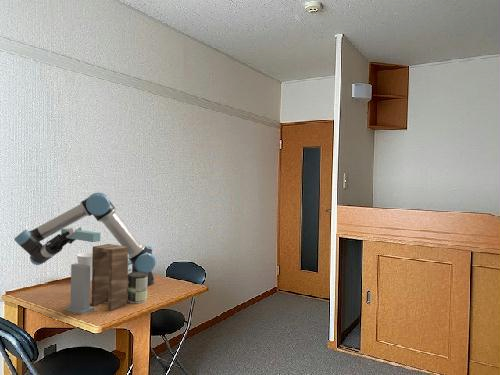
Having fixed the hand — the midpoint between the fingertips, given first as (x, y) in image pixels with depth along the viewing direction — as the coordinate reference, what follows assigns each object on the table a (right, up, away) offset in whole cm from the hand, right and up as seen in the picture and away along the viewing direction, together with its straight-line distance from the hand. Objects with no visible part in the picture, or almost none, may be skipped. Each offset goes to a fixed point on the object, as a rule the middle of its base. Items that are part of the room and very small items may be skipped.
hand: (78, 229), depth 184 cm
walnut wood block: (+13, -39, +5) cm, 42 cm away
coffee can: (+25, -40, +15) cm, 49 cm away
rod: (+1, -5, -1) cm, 5 cm away
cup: (-18, -38, +50) cm, 65 cm away
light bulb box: (-2, -38, +71) cm, 80 cm away
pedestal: (+2, -39, -2) cm, 39 cm away
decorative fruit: (+15, -39, +28) cm, 51 cm away
